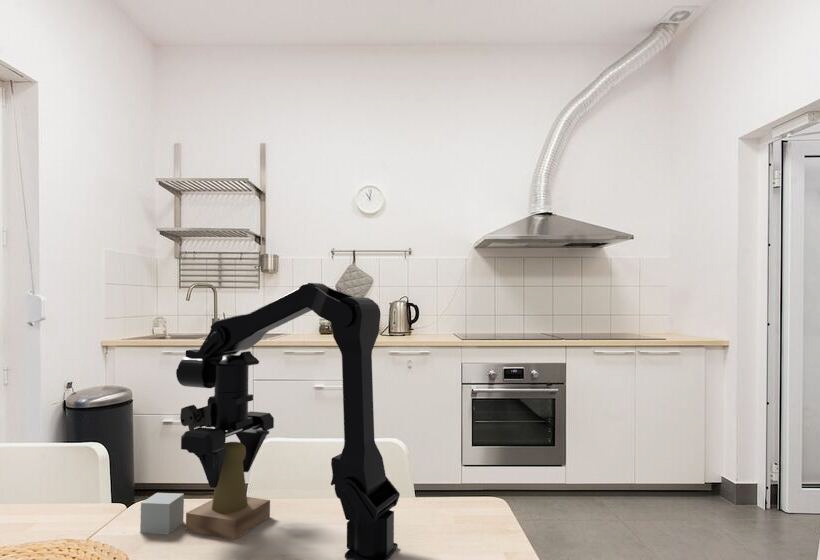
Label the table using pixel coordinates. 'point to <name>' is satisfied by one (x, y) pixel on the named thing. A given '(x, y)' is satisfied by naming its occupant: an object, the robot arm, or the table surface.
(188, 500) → the table surface
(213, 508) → the olive game pawn
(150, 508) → the slate cube
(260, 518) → the walnut block
